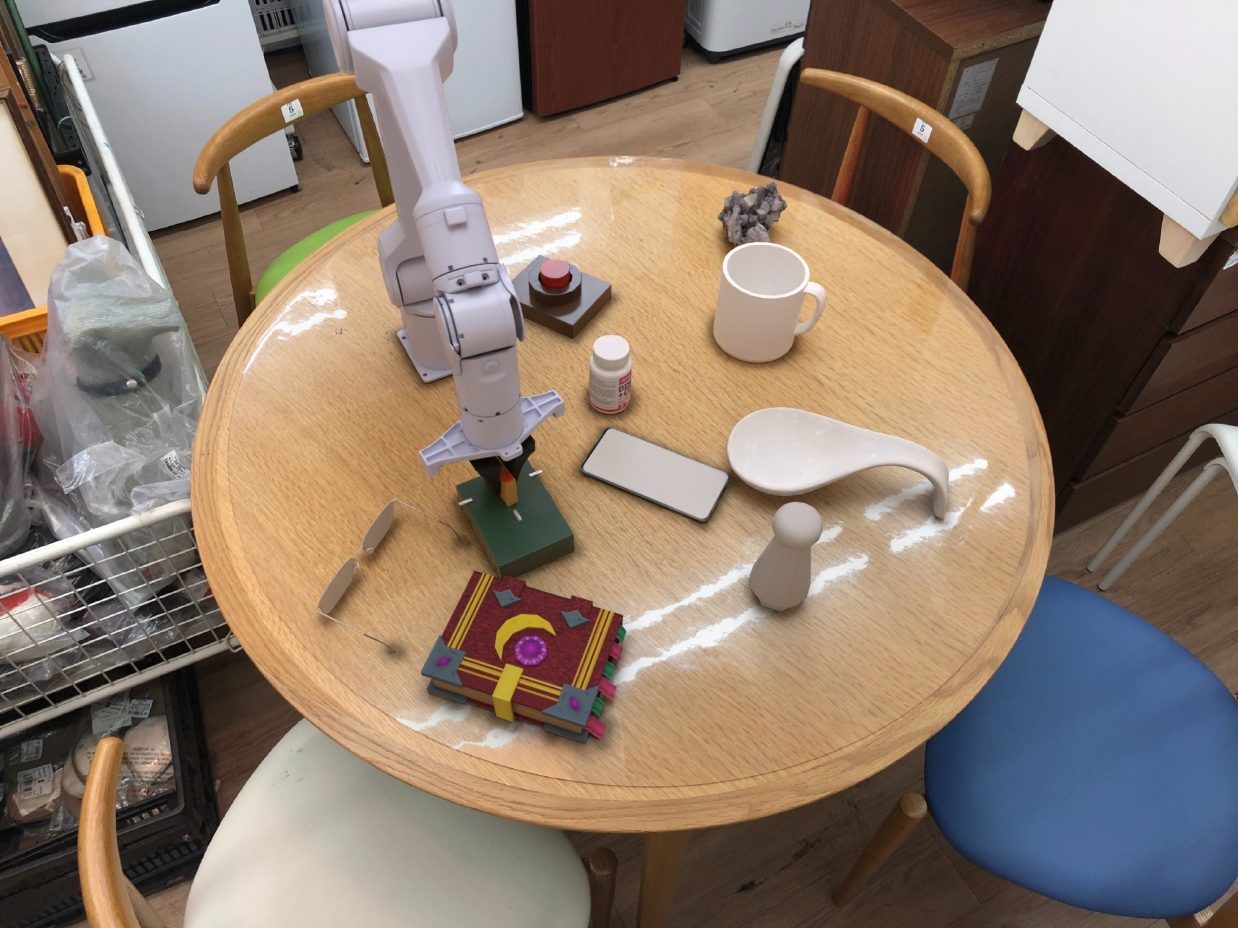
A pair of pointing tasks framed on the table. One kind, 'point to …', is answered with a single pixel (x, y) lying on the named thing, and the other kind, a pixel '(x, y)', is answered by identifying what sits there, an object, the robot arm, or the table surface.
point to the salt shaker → (787, 557)
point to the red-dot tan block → (507, 486)
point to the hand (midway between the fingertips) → (500, 485)
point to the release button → (555, 274)
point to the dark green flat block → (516, 524)
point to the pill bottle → (610, 374)
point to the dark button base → (560, 298)
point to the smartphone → (656, 473)
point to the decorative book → (528, 655)
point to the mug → (763, 301)
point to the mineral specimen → (751, 214)
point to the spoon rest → (821, 453)
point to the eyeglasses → (347, 569)
